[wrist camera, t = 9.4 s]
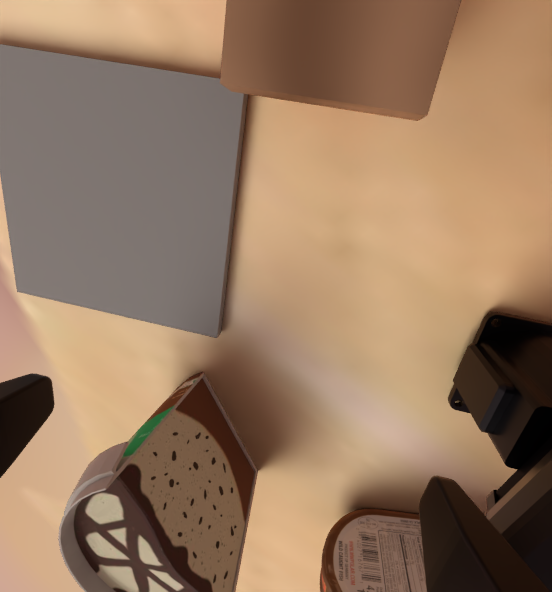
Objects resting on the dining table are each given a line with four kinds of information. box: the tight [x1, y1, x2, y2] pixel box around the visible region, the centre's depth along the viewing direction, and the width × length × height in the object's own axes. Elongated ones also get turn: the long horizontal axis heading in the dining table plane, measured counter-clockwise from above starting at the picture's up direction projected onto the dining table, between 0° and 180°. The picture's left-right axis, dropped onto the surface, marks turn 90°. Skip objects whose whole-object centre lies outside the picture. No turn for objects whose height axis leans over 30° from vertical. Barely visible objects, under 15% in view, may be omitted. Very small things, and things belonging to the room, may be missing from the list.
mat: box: [0, 44, 248, 338], centre depth 20 cm, size 14×14×1 cm
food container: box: [58, 372, 258, 592], centre depth 21 cm, size 12×6×10 cm, turn 24°
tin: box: [320, 509, 427, 592], centre depth 21 cm, size 15×3×8 cm, turn 93°
